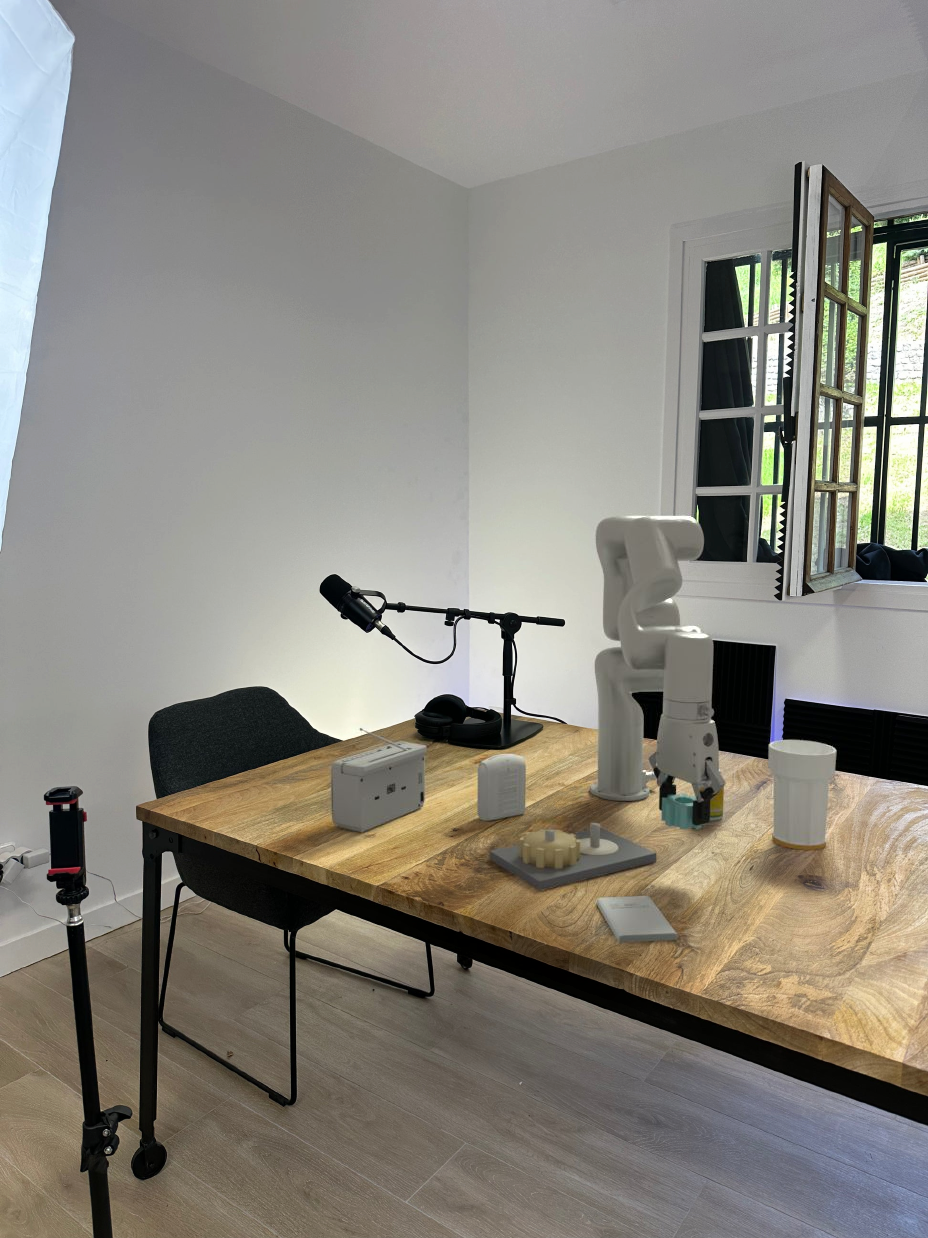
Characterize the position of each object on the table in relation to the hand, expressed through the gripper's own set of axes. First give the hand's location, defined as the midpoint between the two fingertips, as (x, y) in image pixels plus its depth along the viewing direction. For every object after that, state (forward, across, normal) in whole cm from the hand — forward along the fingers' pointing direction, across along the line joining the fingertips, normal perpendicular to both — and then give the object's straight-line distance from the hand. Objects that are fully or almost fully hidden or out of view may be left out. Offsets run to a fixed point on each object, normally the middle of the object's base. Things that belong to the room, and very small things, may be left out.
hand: (683, 815), depth 139 cm
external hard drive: (+10, -10, +18) cm, 23 cm away
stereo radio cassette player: (+11, +50, +31) cm, 60 cm away
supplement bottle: (+11, +18, -25) cm, 32 cm away
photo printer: (+11, +39, +10) cm, 42 cm away
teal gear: (+1, 0, 0) cm, 1 cm away
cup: (+10, 0, -29) cm, 30 cm away
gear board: (+10, +13, +12) cm, 21 cm away
